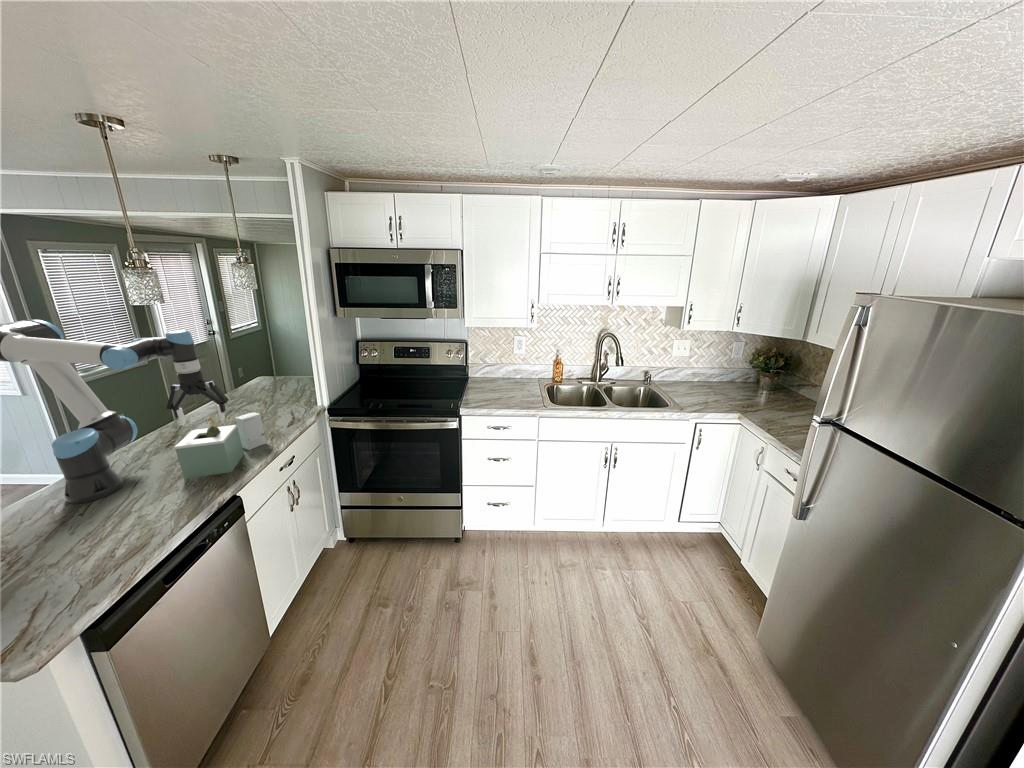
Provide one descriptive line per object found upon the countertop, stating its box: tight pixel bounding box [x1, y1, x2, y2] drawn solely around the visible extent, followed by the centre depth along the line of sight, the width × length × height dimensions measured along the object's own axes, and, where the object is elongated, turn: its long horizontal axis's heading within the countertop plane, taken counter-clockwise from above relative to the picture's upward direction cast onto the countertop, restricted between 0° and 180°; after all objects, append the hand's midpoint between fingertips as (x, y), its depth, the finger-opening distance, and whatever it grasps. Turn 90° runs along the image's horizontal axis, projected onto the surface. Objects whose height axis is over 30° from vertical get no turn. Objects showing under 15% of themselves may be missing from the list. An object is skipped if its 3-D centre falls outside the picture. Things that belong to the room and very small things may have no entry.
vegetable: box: [207, 417, 220, 438], centre depth 163 cm, size 4×4×20 cm
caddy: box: [174, 424, 245, 480], centre depth 164 cm, size 16×16×14 cm
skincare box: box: [234, 411, 267, 451], centre depth 181 cm, size 8×6×15 cm
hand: (203, 422), depth 160 cm, fingers open, 13 cm apart
